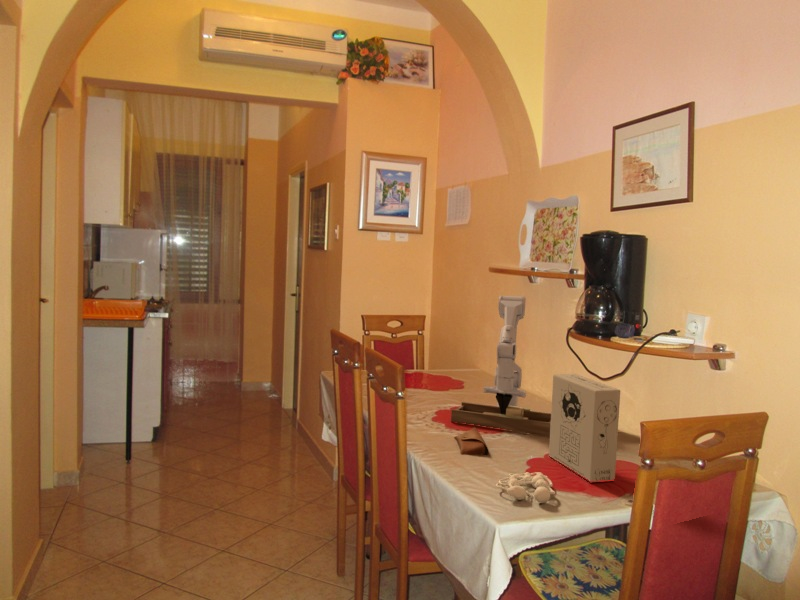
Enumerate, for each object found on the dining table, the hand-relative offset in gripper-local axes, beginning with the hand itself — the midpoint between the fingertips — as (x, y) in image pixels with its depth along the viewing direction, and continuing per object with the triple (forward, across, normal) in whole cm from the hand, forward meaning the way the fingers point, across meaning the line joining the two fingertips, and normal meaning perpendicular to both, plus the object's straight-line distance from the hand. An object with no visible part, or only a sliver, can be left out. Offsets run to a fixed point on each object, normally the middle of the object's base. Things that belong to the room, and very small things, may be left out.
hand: (503, 415), depth 215 cm
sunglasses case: (+4, -4, -28) cm, 29 cm away
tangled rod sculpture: (+4, +19, -57) cm, 60 cm away
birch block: (+1, +4, 0) cm, 4 cm away
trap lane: (+3, 0, 0) cm, 3 cm away
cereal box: (+4, +30, -34) cm, 45 cm away
